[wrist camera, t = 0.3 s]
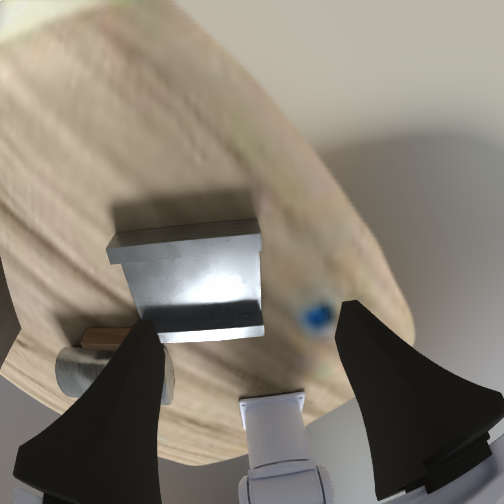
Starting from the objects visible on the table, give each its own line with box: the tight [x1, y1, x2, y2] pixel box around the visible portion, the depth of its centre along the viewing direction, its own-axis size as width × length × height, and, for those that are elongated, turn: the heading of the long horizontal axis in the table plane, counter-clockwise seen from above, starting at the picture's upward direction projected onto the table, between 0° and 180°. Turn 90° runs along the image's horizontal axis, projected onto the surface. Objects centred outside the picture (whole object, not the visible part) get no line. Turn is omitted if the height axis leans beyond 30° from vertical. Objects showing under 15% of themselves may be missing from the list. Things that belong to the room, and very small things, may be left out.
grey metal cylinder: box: [55, 347, 174, 405], centre depth 23 cm, size 11×5×5 cm, turn 93°
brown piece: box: [81, 328, 175, 385], centre depth 24 cm, size 8×7×2 cm
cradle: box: [106, 219, 264, 343], centre depth 20 cm, size 9×10×2 cm
